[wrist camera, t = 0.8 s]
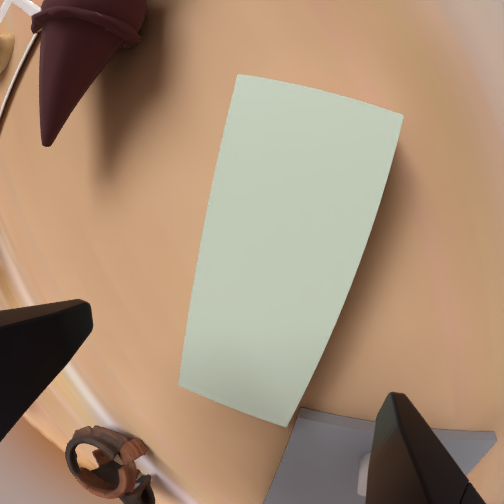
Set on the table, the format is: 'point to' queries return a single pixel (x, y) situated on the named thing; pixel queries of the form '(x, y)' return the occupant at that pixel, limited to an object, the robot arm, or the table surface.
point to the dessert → (13, 40)
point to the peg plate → (348, 458)
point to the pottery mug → (111, 466)
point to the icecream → (78, 51)
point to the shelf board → (282, 240)
